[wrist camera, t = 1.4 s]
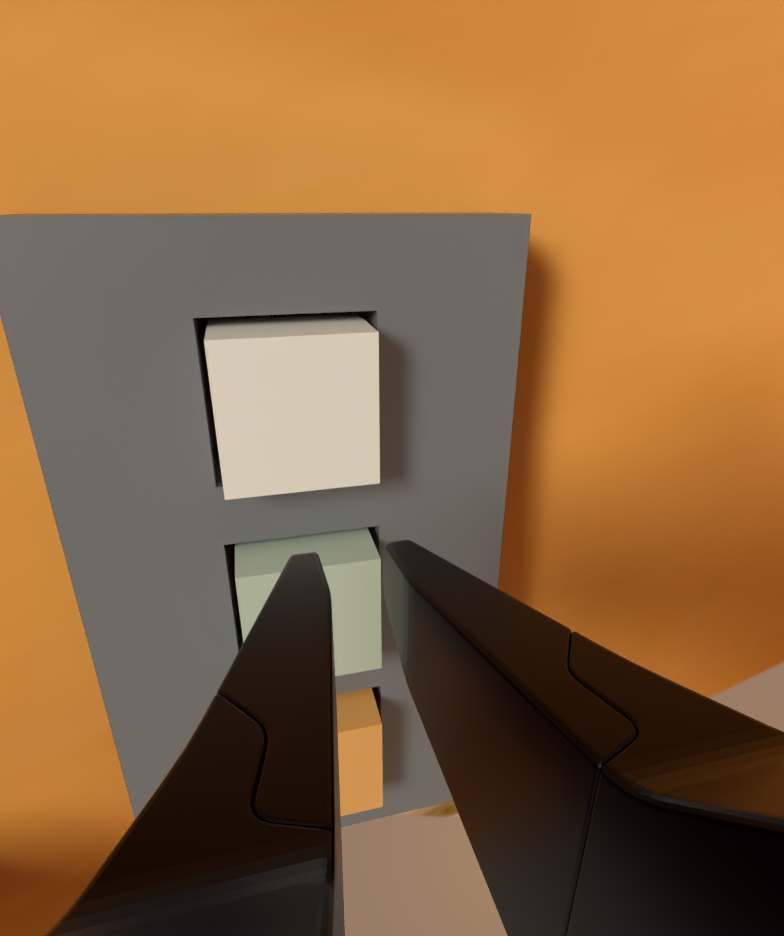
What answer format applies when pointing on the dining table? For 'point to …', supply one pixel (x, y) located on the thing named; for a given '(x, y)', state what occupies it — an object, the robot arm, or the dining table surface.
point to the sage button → (350, 583)
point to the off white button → (294, 402)
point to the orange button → (359, 752)
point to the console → (195, 445)
